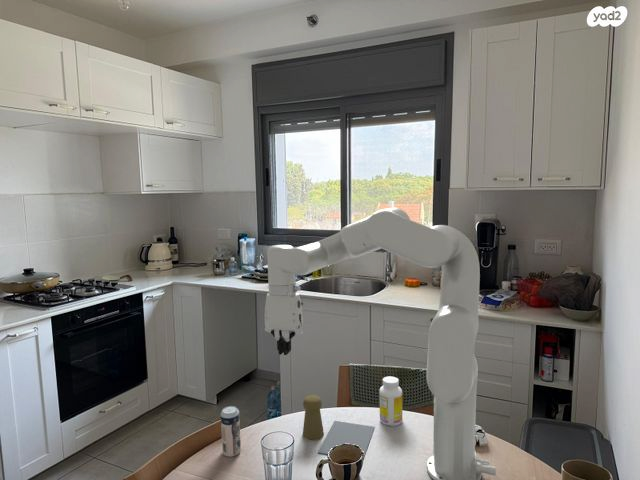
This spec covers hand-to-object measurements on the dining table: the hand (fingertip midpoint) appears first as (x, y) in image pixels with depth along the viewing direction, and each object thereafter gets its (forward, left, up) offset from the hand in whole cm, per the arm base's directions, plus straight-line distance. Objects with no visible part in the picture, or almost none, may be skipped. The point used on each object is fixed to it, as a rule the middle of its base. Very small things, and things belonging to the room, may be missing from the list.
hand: (284, 352), depth 121 cm
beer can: (+10, +14, -23) cm, 29 cm away
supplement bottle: (-28, -13, -23) cm, 39 cm away
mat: (-18, 0, -23) cm, 29 cm away
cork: (-8, 0, -23) cm, 25 cm away
